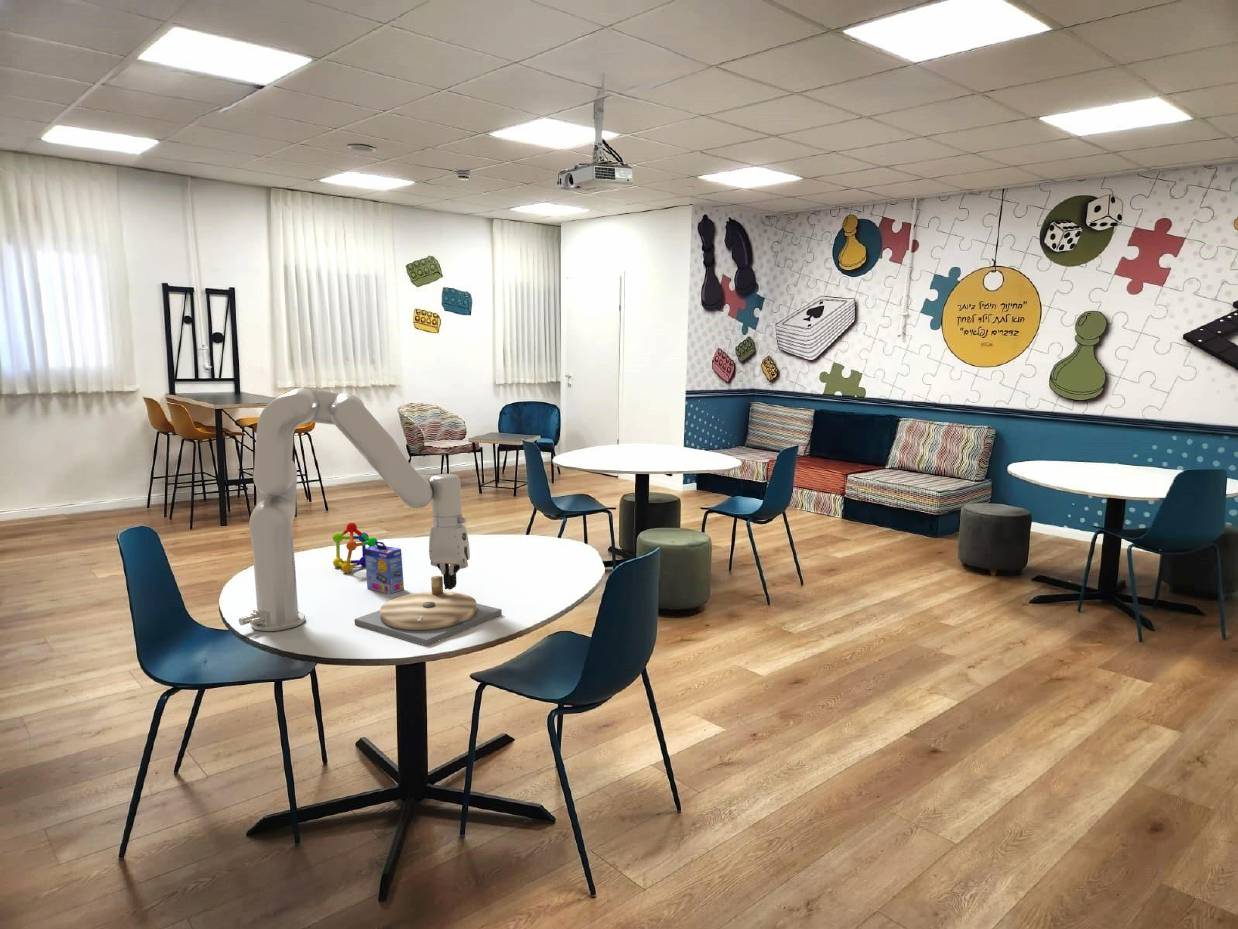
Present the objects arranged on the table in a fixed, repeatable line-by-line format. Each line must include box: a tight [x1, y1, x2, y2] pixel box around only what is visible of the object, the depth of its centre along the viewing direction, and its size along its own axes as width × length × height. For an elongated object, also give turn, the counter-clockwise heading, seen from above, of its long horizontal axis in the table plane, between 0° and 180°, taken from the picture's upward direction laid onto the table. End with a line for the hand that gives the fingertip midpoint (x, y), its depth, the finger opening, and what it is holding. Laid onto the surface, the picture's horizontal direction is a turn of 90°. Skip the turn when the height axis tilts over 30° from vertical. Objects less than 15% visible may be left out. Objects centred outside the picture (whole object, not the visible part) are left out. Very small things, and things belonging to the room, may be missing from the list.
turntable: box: [379, 575, 478, 630], centre depth 208 cm, size 24×24×6 cm
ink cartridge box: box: [365, 540, 405, 595], centre depth 233 cm, size 10×6×14 cm, turn 59°
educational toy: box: [332, 522, 378, 574], centre depth 256 cm, size 16×13×15 cm
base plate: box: [354, 602, 503, 647], centre depth 209 cm, size 26×26×2 cm
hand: (450, 587), depth 218 cm, fingers closed
